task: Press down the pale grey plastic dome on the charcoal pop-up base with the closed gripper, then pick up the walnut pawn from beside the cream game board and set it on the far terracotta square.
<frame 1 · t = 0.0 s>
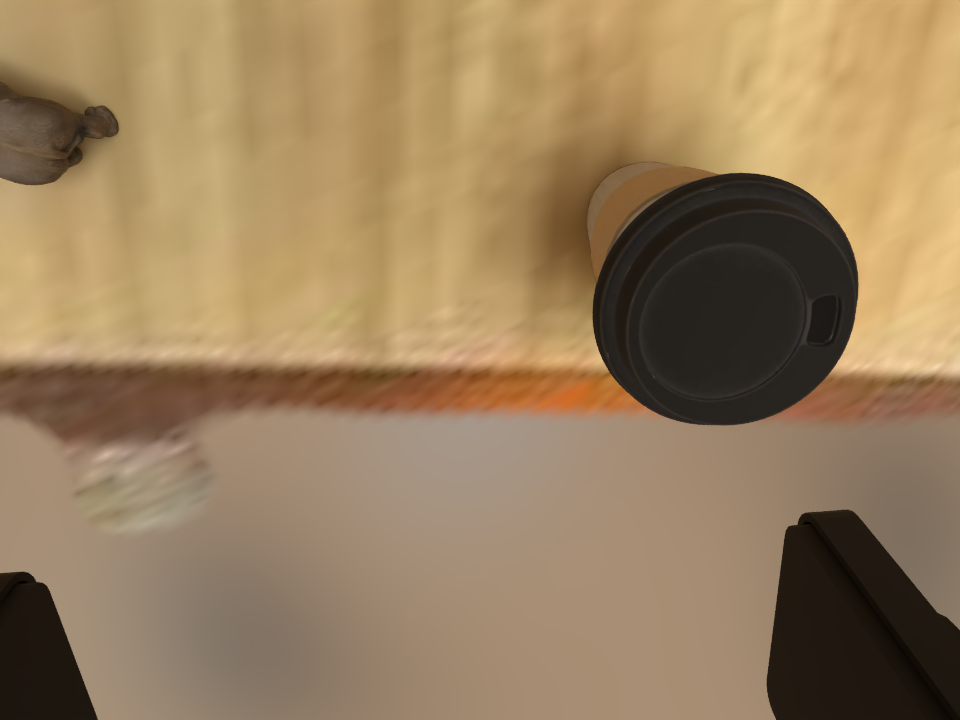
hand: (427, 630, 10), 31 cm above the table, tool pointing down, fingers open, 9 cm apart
coffee cup: (639, 217, 40), on the table
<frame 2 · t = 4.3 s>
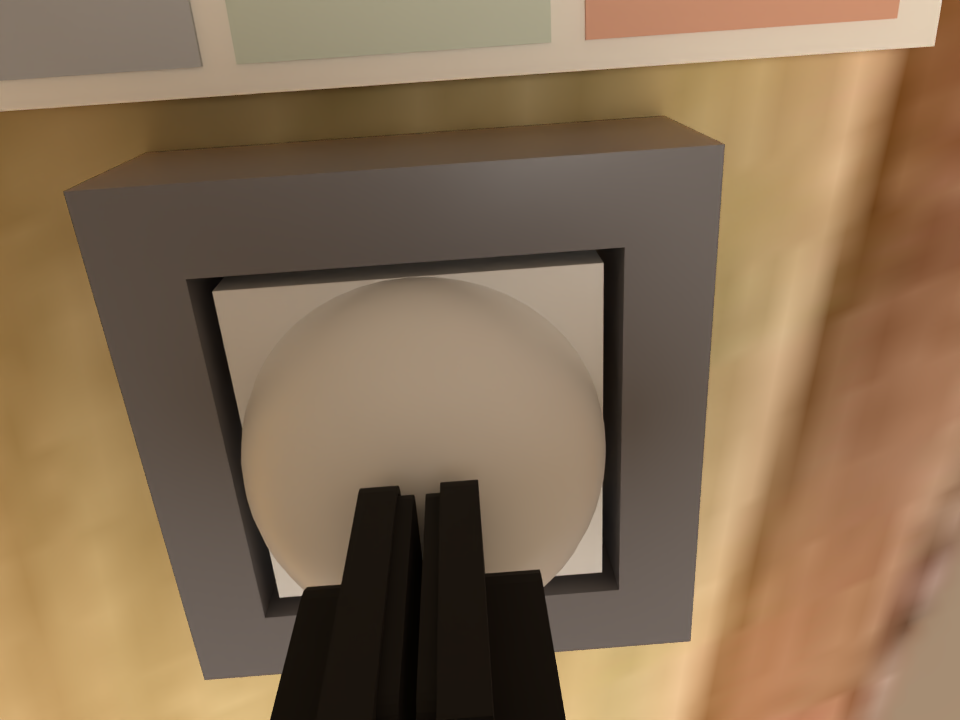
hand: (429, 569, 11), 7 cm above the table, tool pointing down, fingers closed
pop dome: (426, 445, 14), point 3 cm above the table, slide at 1.2 cm, touching gripper
dome base: (429, 368, 17), on the table
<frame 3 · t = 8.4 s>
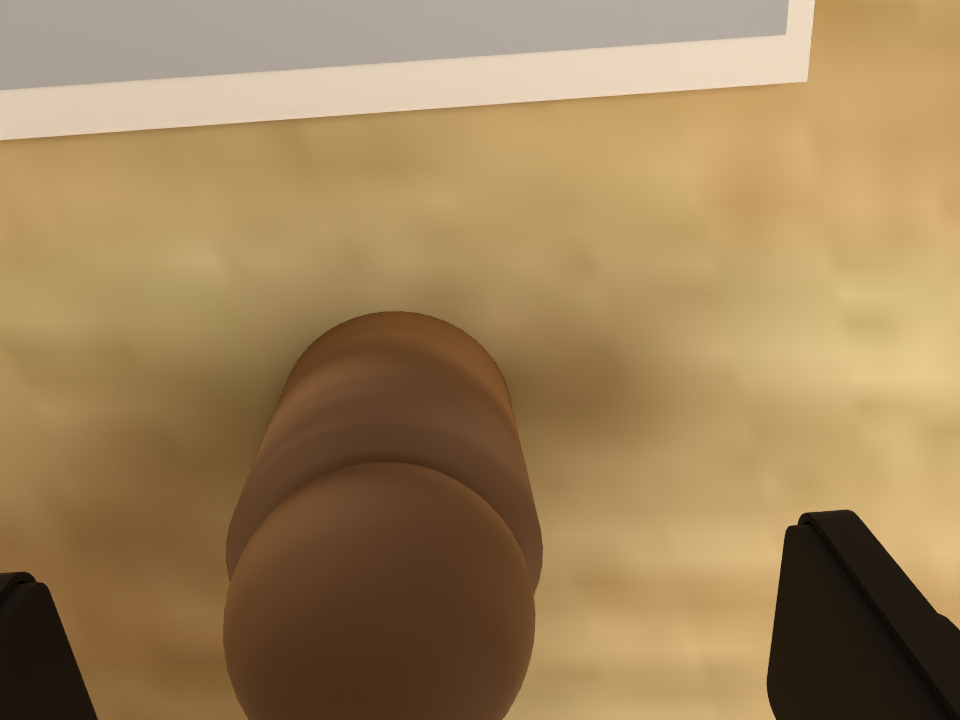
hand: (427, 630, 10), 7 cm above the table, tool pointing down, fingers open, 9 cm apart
walnut pawn: (397, 419, 17), on the table
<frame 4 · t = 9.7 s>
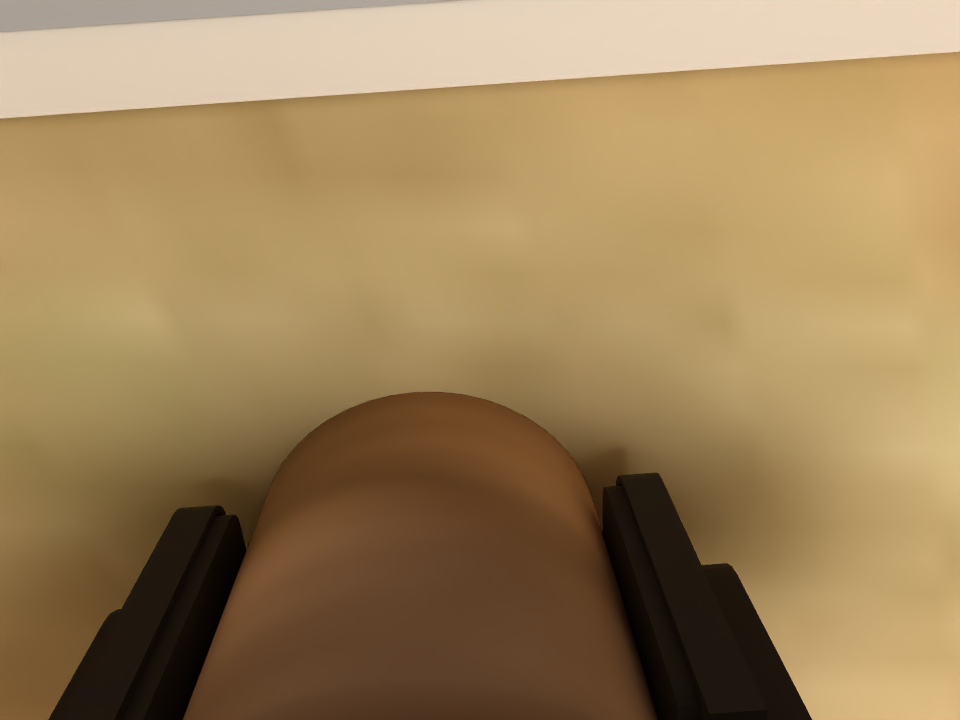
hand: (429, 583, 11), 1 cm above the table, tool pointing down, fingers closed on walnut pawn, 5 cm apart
walnut pawn: (430, 540, 12), on the table, touching gripper
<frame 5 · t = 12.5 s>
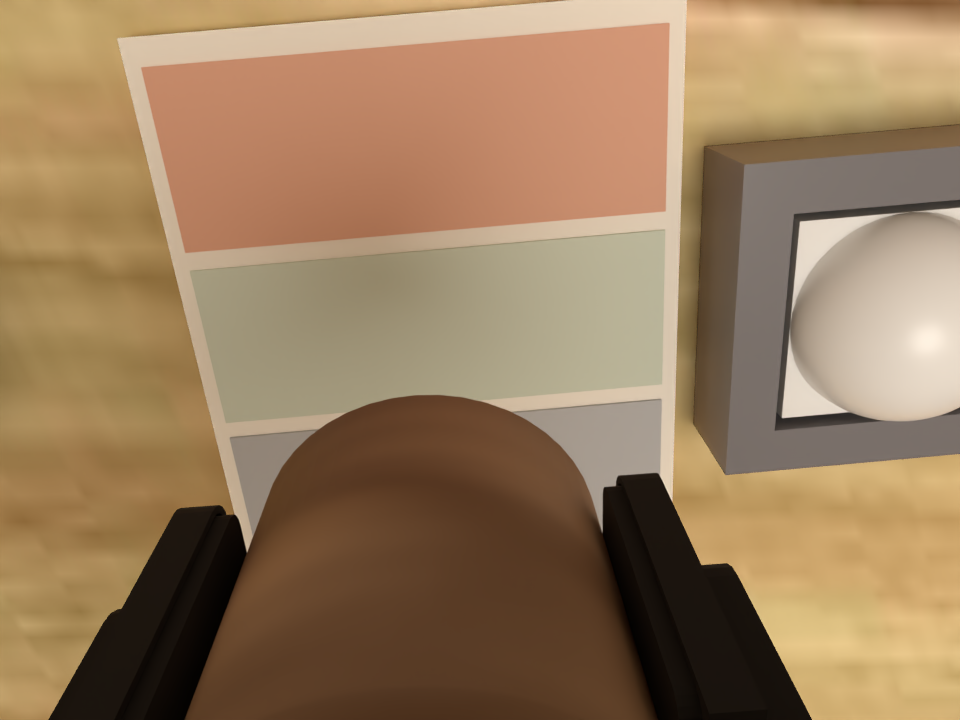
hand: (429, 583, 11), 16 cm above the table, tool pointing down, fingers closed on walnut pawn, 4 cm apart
pop dome: (894, 316, 23), point 3 cm above the table, slide at 1.2 cm
walnut pawn: (431, 543, 11), point 15 cm above the table, touching gripper
game board: (437, 318, 26), on the table
dome base: (843, 283, 26), on the table
when the fingers open (3 cm above the table, at t = 15.6 s): walnut pawn drops 1 cm, resting on game board.
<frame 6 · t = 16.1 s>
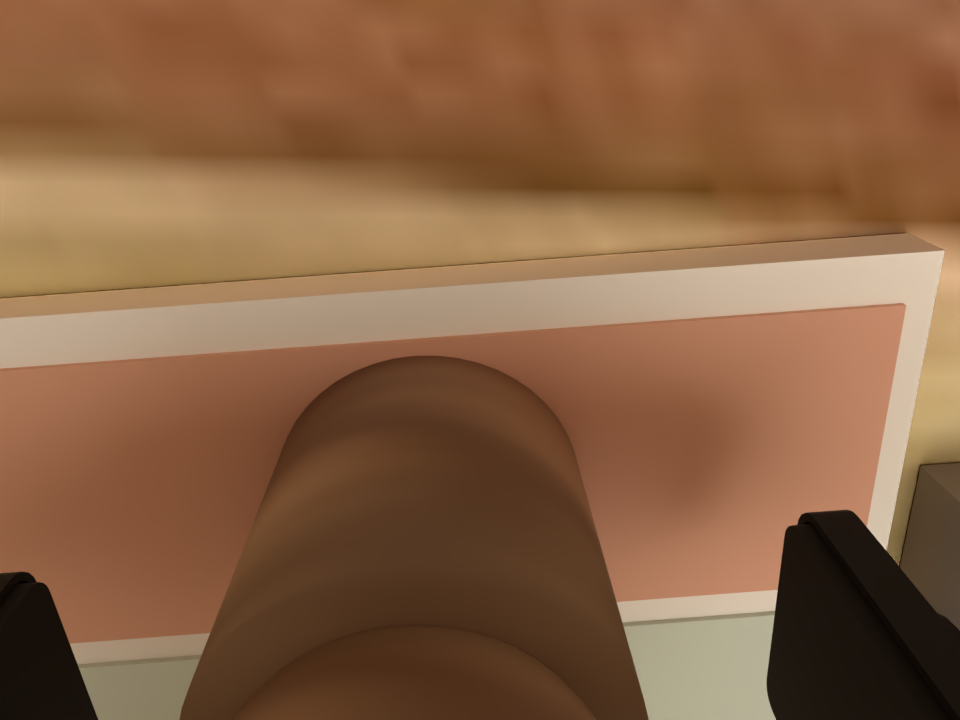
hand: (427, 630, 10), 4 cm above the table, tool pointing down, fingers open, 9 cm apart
walnut pawn: (429, 492, 13), point 1 cm above the table, touching game board
game board: (458, 697, 16), on the table
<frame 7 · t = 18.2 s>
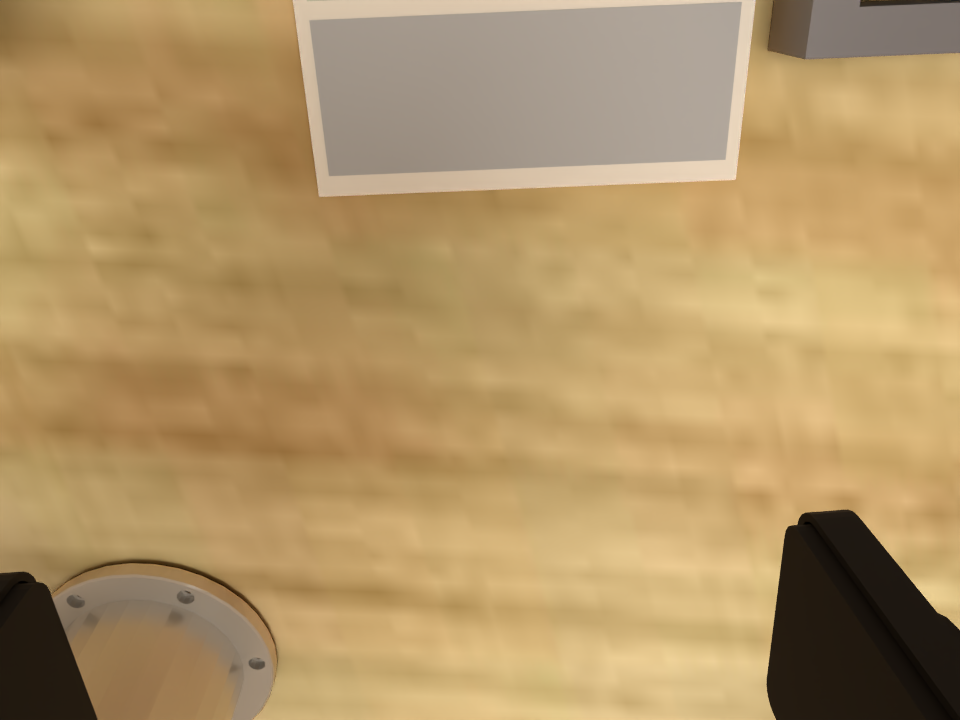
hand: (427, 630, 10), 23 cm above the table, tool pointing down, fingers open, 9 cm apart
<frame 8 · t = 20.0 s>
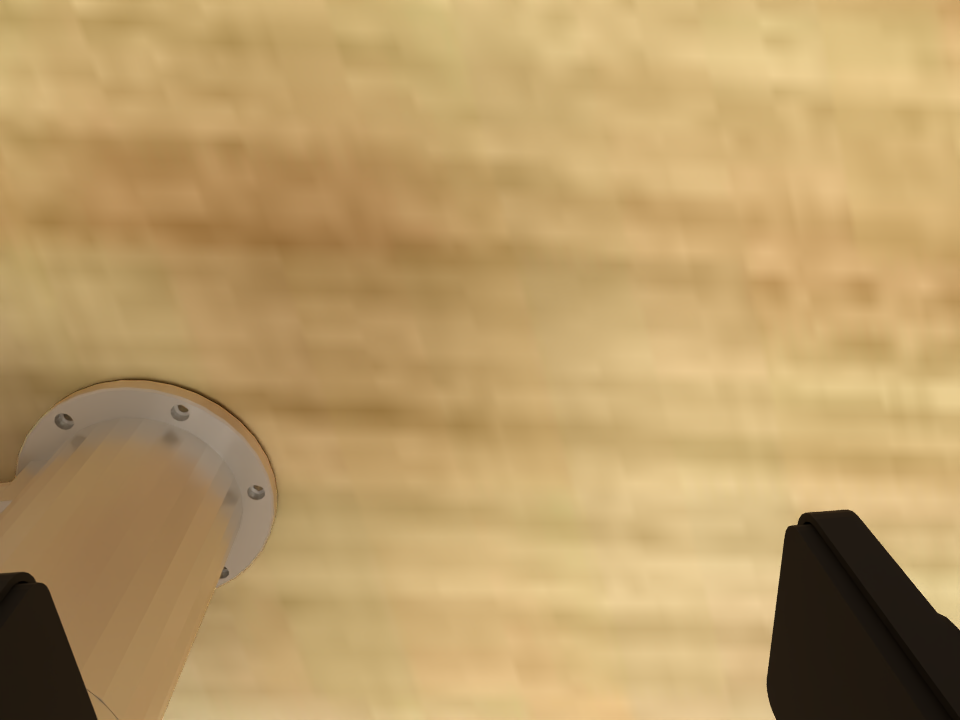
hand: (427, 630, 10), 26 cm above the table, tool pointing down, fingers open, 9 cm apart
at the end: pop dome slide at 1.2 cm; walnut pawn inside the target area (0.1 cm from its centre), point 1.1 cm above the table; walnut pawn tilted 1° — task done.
